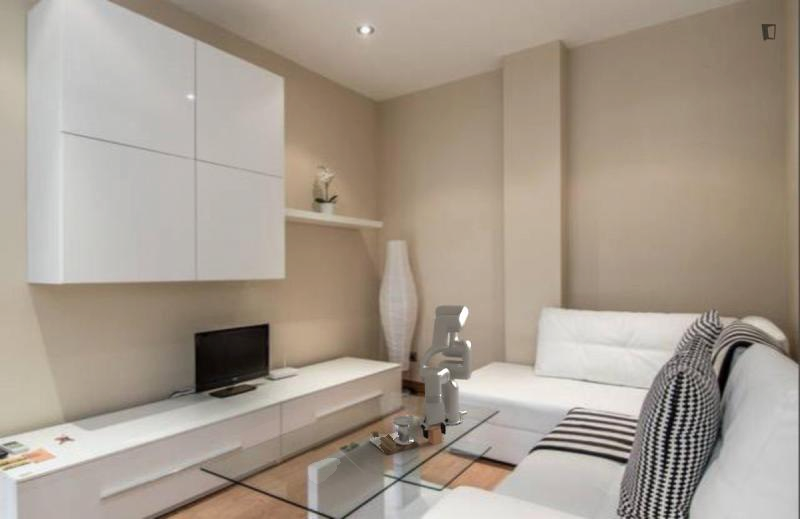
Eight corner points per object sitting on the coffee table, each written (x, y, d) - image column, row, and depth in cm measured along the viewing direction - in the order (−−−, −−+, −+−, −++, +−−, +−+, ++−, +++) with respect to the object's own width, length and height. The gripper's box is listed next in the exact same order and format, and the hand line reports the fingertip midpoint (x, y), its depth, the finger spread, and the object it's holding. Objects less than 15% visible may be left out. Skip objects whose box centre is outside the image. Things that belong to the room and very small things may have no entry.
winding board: (398, 433, 217) (398, 425, 217) (418, 446, 202) (418, 437, 202) (369, 441, 210) (368, 432, 210) (387, 455, 194) (386, 445, 194)
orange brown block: (436, 439, 209) (435, 426, 209) (441, 442, 206) (441, 429, 206) (428, 441, 207) (427, 428, 207) (433, 444, 203) (433, 431, 203)
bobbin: (407, 436, 210) (406, 415, 210) (417, 442, 202) (417, 420, 202) (390, 440, 206) (390, 418, 206) (400, 447, 198) (399, 424, 198)
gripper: (444, 393, 214) (445, 429, 214) (413, 399, 205) (414, 437, 205) (453, 397, 207) (454, 434, 207) (422, 403, 199) (423, 442, 199)
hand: (434, 435), depth 206 cm, fingers open, 9 cm apart
